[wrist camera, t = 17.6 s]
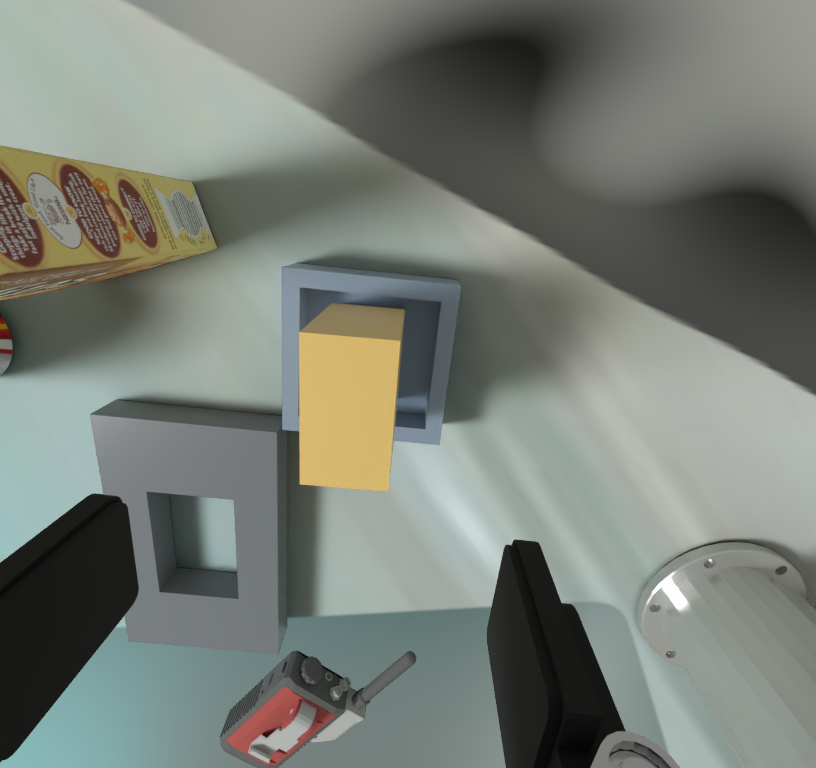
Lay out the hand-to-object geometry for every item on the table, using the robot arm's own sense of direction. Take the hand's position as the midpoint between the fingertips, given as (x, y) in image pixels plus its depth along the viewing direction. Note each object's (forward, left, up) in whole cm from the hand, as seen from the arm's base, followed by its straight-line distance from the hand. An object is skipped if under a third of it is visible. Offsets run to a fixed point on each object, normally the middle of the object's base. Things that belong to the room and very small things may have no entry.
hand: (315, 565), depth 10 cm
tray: (+1, 0, -19) cm, 19 cm away
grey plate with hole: (+12, +15, -19) cm, 27 cm away
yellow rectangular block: (0, 0, -18) cm, 18 cm away
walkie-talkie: (+3, +32, -20) cm, 38 cm away
